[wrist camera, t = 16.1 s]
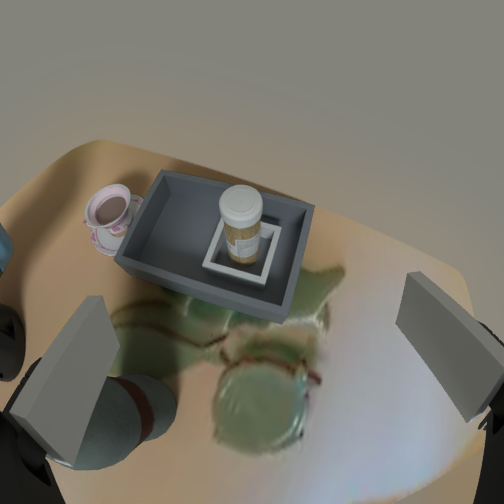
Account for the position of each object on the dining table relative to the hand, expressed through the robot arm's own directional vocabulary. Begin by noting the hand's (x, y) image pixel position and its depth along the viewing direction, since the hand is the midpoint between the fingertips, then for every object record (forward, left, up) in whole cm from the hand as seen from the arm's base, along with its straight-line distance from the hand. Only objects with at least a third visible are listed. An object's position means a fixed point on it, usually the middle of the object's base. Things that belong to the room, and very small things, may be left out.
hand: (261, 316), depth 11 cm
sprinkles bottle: (-6, +13, -26) cm, 30 cm away
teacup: (-27, +12, -27) cm, 41 cm away
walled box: (-9, +13, -27) cm, 31 cm away
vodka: (-11, -12, -27) cm, 32 cm away
